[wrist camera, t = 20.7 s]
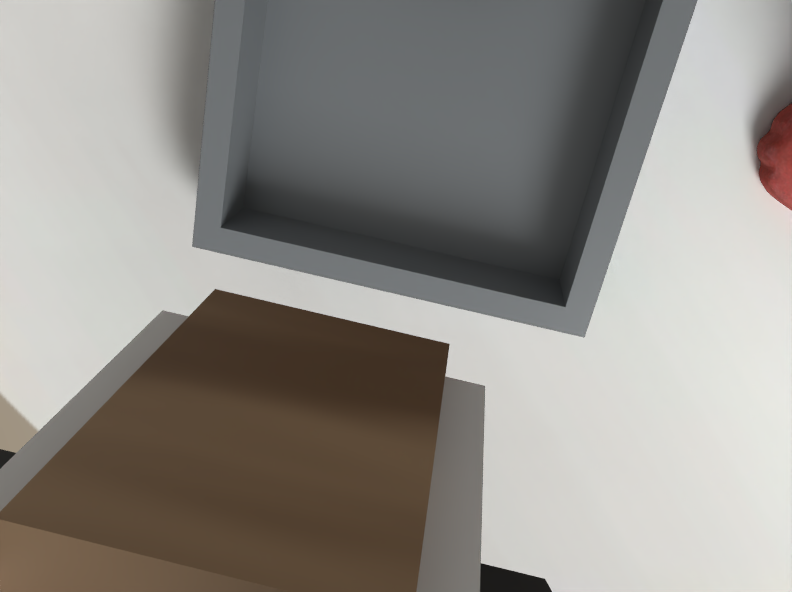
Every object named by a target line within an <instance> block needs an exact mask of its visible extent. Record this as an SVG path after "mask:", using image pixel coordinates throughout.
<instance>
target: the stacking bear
mask: <svg viewBox="0 0 792 592" xmlns="http://www.w3.org/2000/svg"><path fill="white" fill-rule="evenodd" d="M757 155H758V158H759V160H760V161H761V165H760V169H759V176H760V180H761V183H762V184H763V186H764V188H765V189H766V191H767V192H768V193H769V194H770V195H771V196H772V197H774V198H775V199H776V200H778V201H779V202H780V203H782V204H783V205H785V206H786V207H787V208H789V209H790V210H792V103H791V104H790V105H789V106H787V107H786V108H784V109H783V110H782V111H781V112H779V113H778V115H777V116H776V118H775V119H774V121H773V123H772V126H771V129H770V131H769V132H768V133H767V134H766V135H765V136H764V137H762V138H761V140H760V141H759V143H758V146H757Z"/></svg>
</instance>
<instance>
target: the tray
mask: <svg viewBox="0 0 792 592" xmlns="http://www.w3.org/2000/svg"><path fill="white" fill-rule="evenodd" d="M696 3H697V0H215V6H214V17H213V27H212V38H211V49H210V60H209V71H208V81H207V92H206V103H205V114H204V125H203V135H202V146H201V157H200V168H199V179H198V190H197V200H196V211H195V222H194V233H193V244H192V247H196V248H201V249H205V250H209V251H213V252H218V253H222V254H226V255H231V256H235V257H239V258H244V259H248V260H252V261H257V262H261V263H265V264H270V265H274V266H278V267H283V268H287V269H291V270H295V271H300V272H304V273H308V274H313V275H317V276H321V277H326V278H330V279H334V280H339V281H343V282H347V283H352V284H356V285H360V286H364V287H369V288H373V289H377V290H382V291H386V292H390V293H395V294H399V295H403V296H408V297H412V298H416V299H421V300H425V301H429V302H433V303H438V304H442V305H446V306H451V307H455V308H459V309H464V310H468V311H472V312H477V313H481V314H485V315H490V316H494V317H498V318H502V319H507V320H511V321H515V322H520V323H524V324H528V325H533V326H537V327H541V328H546V329H550V330H554V331H559V332H563V333H567V334H571V335H576V336H580V337H585V334H586V331H587V328H588V325H589V322H590V319H591V316H592V313H593V310H594V307H595V304H596V301H597V298H598V295H599V292H600V289H601V286H602V283H603V281H604V278H605V275H606V272H607V269H608V266H609V263H610V260H611V257H612V254H613V251H614V248H615V245H616V242H617V239H618V236H619V233H620V230H621V227H622V224H623V221H624V218H625V215H626V212H627V209H628V206H629V203H630V200H631V197H632V194H633V191H634V188H635V185H636V182H637V179H638V176H639V173H640V170H641V167H642V164H643V161H644V158H645V155H646V152H647V149H648V146H649V143H650V140H651V137H652V134H653V131H654V128H655V125H656V122H657V119H658V116H659V113H660V110H661V107H662V104H663V101H664V99H665V96H666V93H667V90H668V87H669V84H670V81H671V78H672V75H673V72H674V69H675V66H676V63H677V60H678V57H679V54H680V51H681V48H682V45H683V42H684V39H685V36H686V33H687V30H688V27H689V24H690V21H691V18H692V15H693V12H694V9H695V6H696Z"/></svg>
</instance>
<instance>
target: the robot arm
mask: <svg viewBox="0 0 792 592" xmlns="http://www.w3.org/2000/svg"><path fill="white" fill-rule="evenodd" d="M187 318H188V316H184V315H180V314H176V313H171V312H167V311H162V312H161V313H160V314H159V315H158V316H156V317H155V318H154V319H153V320H152V321H151V322H150V323H149V324H148V325H147V326H146V327H145V328H144V329H143V330H142V331H141V332H140V333H139V334H138V335H137V336H136V337H135V338H134V339H133V340H132V341H131V342H130V343H129V344H128V345H127V346H126V347H125V348H124V349H123V350H122V351H121V352H120V353H119V354H118V355H116V356H115V357H114V358H113V359H112V360H111V361H110V362H109V363H108V364H107V365H106V366H105V367H104V368H103V369H102V370H101V371H100V372H99V373H98V374H97V375H96V376H95V377H94V378H93V379H92V380H91V381H90V382H89V383H88V384H87V385H86V386H85V387H84V388H83V389H82V390H81V391H80V392H79V393H78V394H77V395H75V396H74V397H73V398H72V399H71V400H70V401H69V402H68V403H67V404H66V405H65V406H64V407H63V408H62V409H61V410H60V411H59V412H58V413H57V414H56V415H55V416H54V417H53V418H52V419H51V420H50V421H49V422H48V423H47V424H46V425H45V426H44V427H43V428H42V429H41V430H40V431H39V432H38V433H37V434H35V436H34V437H33V438H31V439H30V440H29V441H28V442H27V443H26V444H25V445H24V446H23V447H22V448H21V449H20V450H19V451H18V452H17V453H14V452H10V451H5V450H1V449H0V511H1V510H2V509H3V508H4V507H5V506H6V505H7V504H8V503H9V502H10V501H11V500H12V499H13V498H14V497H15V496H16V495H17V494H18V493H19V492H20V491H21V490H22V489H23V487H24V486H25V485H26V484H27V483H28V482H29V481H30V480H31V479H32V478H33V477H34V476H35V475H36V474H37V473H38V472H39V471H40V470H41V469H42V468H43V467H44V466H45V465H46V464H47V463H48V462H49V461H50V460H51V459H52V458H53V456H54V455H55V454H56V453H57V452H58V451H59V450H60V449H61V448H62V447H63V446H64V445H65V444H66V443H67V442H68V441H69V440H70V439H71V438H72V437H73V436H74V435H75V434H76V433H77V432H78V431H79V430H80V429H81V428H82V426H83V425H84V424H85V423H86V422H87V421H88V420H89V419H90V418H91V417H92V416H93V415H94V414H95V413H96V412H97V411H98V410H99V409H100V408H101V407H102V406H103V405H104V404H105V403H106V402H107V401H108V400H109V399H110V398H111V396H112V395H113V394H114V393H115V392H116V391H117V390H118V389H119V388H120V387H121V386H122V385H123V384H124V383H125V382H126V381H127V380H128V379H129V378H130V377H131V376H132V375H133V374H134V373H135V372H136V371H137V370H138V369H139V368H140V367H141V365H142V364H143V363H144V362H145V361H146V360H147V359H148V358H149V357H150V356H151V355H152V354H153V353H154V352H155V351H156V350H157V349H158V348H159V347H160V346H161V345H162V344H163V343H164V342H165V341H166V340H167V339H168V338H169V337H170V335H171V334H172V333H173V332H174V331H175V330H176V329H177V328H178V327H179V326H180V325H181V324H182V323H183V322H184V321H185V320H186V319H187ZM484 406H485V386H483V385H479V384H474V383H470V382H466V381H462V380H457V379H453V378H449V377H445V381H444V388H443V396H442V403H441V411H440V418H439V426H438V433H437V441H436V448H435V456H434V463H433V471H432V478H431V486H430V493H429V501H428V508H427V516H426V523H425V531H424V538H423V546H422V553H421V561H420V568H419V576H418V583H417V591H416V592H552V591H551V589H550V587H549V586H548V584H547V582H546V580H545V579H543V578H539V577H535V576H531V575H527V574H522V573H518V572H514V571H510V570H506V569H502V568H498V567H494V566H490V565H486V564H481V527H482V487H483V447H484Z"/></svg>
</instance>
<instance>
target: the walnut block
mask: <svg viewBox="0 0 792 592" xmlns="http://www.w3.org/2000/svg"><path fill="white" fill-rule="evenodd" d="M448 351H449V344H447V343H443V342H438V341H434V340H430V339H426V338H421V337H417V336H413V335H409V334H404V333H400V332H396V331H391V330H387V329H383V328H379V327H374V326H370V325H366V324H362V323H357V322H353V321H349V320H345V319H340V318H336V317H332V316H327V315H323V314H319V313H315V312H310V311H306V310H302V309H298V308H293V307H289V306H285V305H281V304H276V303H272V302H268V301H263V300H259V299H255V298H251V297H246V296H242V295H238V294H234V293H229V292H225V291H221V290H217V289H215V290H214V291H213V292H212V293H211V294H210V295H209V296H208V297H207V298H206V299H205V300H204V301H203V302H202V303H201V304H200V306H199V307H198V308H197V309H196V310H195V311H194V312H193V313H192V314H191V315H190V316H189V317H188V318H187V319H186V320H185V321H184V322H183V323H182V324H181V325H180V326H179V327H178V328H177V329H176V330H175V331H174V332H173V333H172V334H171V335H170V337H169V338H168V339H167V340H166V341H165V342H164V343H163V344H162V345H161V346H160V347H159V348H158V349H157V350H156V351H155V352H154V353H153V354H152V355H151V356H150V357H149V358H148V359H147V360H146V361H145V362H144V363H143V364H142V365H141V367H140V368H139V369H138V370H137V371H136V372H135V373H134V374H133V375H132V376H131V377H130V378H129V379H128V380H127V381H126V382H125V383H124V384H123V385H122V386H121V387H120V388H119V389H118V390H117V391H116V392H115V393H114V394H113V395H112V396H111V398H110V399H109V400H108V401H107V402H106V403H105V404H104V405H103V406H102V407H101V408H100V409H99V410H98V411H97V412H96V413H95V414H94V415H93V416H92V417H91V418H90V419H89V420H88V421H87V422H86V423H85V424H84V425H83V426H82V428H81V429H80V430H79V431H78V432H77V433H76V434H75V435H74V436H73V437H72V438H71V439H70V440H69V441H68V442H67V443H66V444H65V445H64V446H63V447H62V448H61V449H60V450H59V451H58V452H57V453H56V454H55V455H54V456H53V458H52V459H51V460H50V461H49V462H48V463H47V464H46V465H45V466H44V467H43V468H42V469H41V470H40V471H39V472H38V473H37V474H36V475H35V476H34V477H33V478H32V479H31V480H30V481H29V482H28V483H27V484H26V485H25V486H24V487H23V489H22V490H21V491H20V492H19V493H18V494H17V495H16V496H15V497H14V498H13V499H12V500H11V501H10V502H9V503H8V504H7V505H6V506H5V507H4V508H3V509H2V510H1V511H0V592H416V591H417V583H418V576H419V568H420V561H421V553H422V546H423V538H424V531H425V523H426V516H427V508H428V501H429V493H430V486H431V478H432V471H433V463H434V456H435V448H436V441H437V433H438V426H439V418H440V411H441V403H442V396H443V388H444V381H445V373H446V366H447V358H448Z"/></svg>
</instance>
